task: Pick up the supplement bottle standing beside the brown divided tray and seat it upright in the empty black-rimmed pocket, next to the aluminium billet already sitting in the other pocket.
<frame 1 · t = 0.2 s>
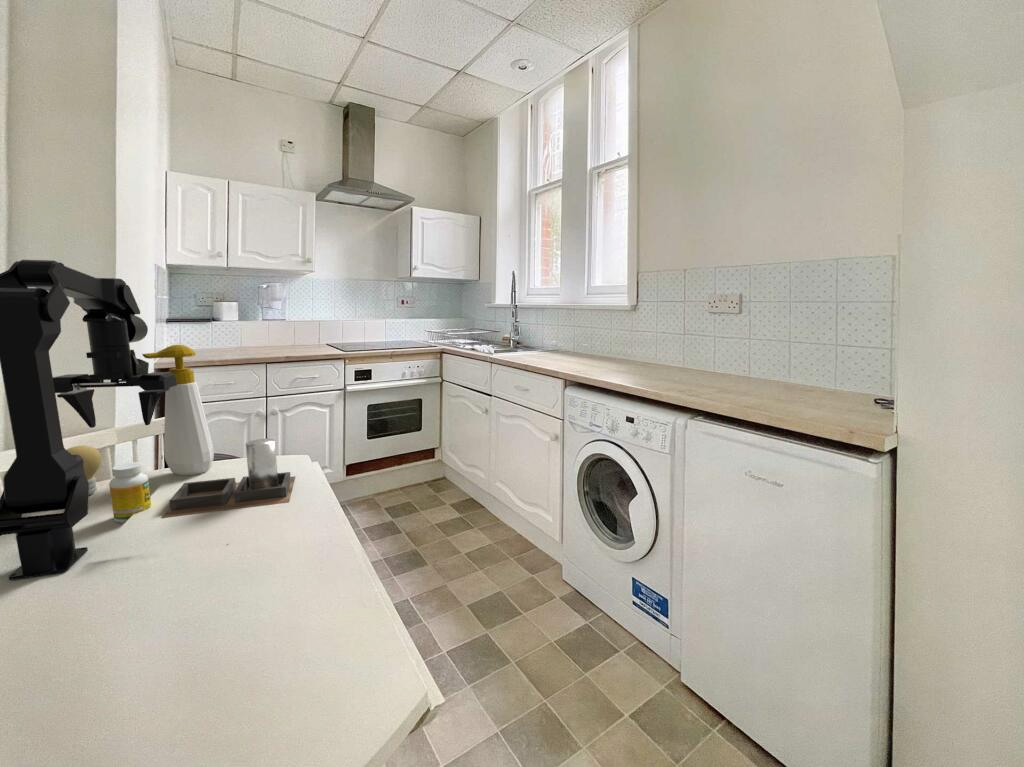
hand: (120, 426, 91), 14 cm above the table, tool pointing down, fingers open, 9 cm apart
brown divided tray: (236, 502, 90), on the table
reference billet: (264, 491, 92), point 1 cm above the table, touching brown divided tray
soap bottle: (186, 477, 104), on the table
supplement bottle: (133, 517, 84), on the table
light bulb: (85, 495, 93), on the table
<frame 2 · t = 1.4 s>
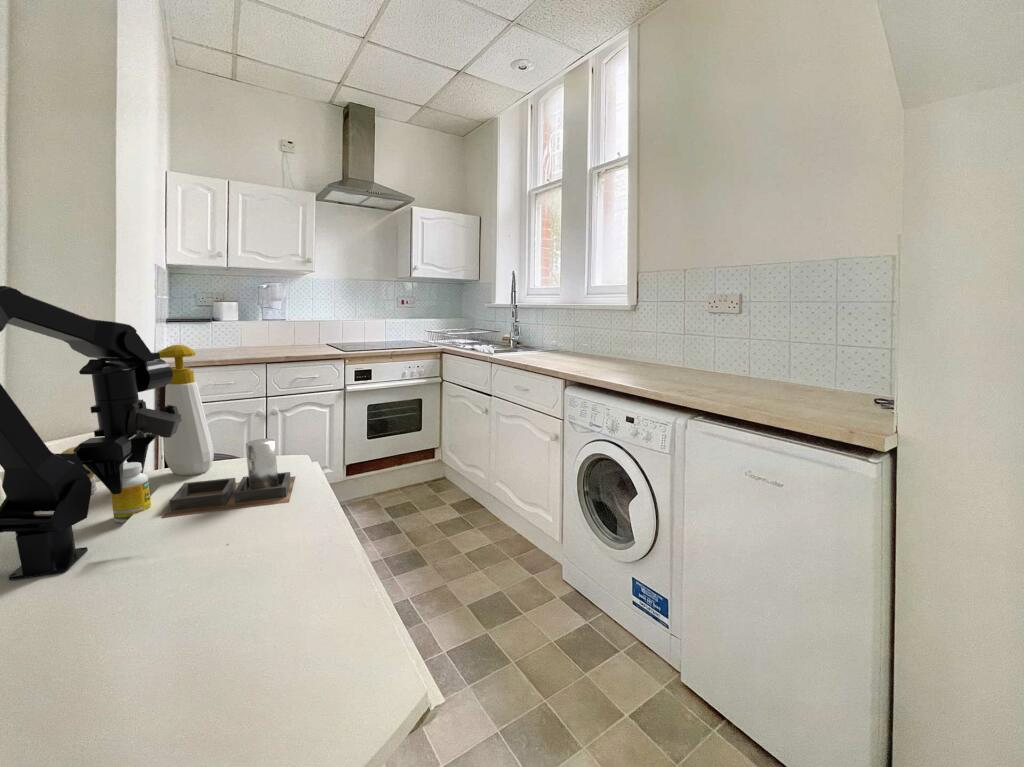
hand: (128, 483, 83), 6 cm above the table, tool pointing down, fingers open, 9 cm apart
nothing on the table moved.
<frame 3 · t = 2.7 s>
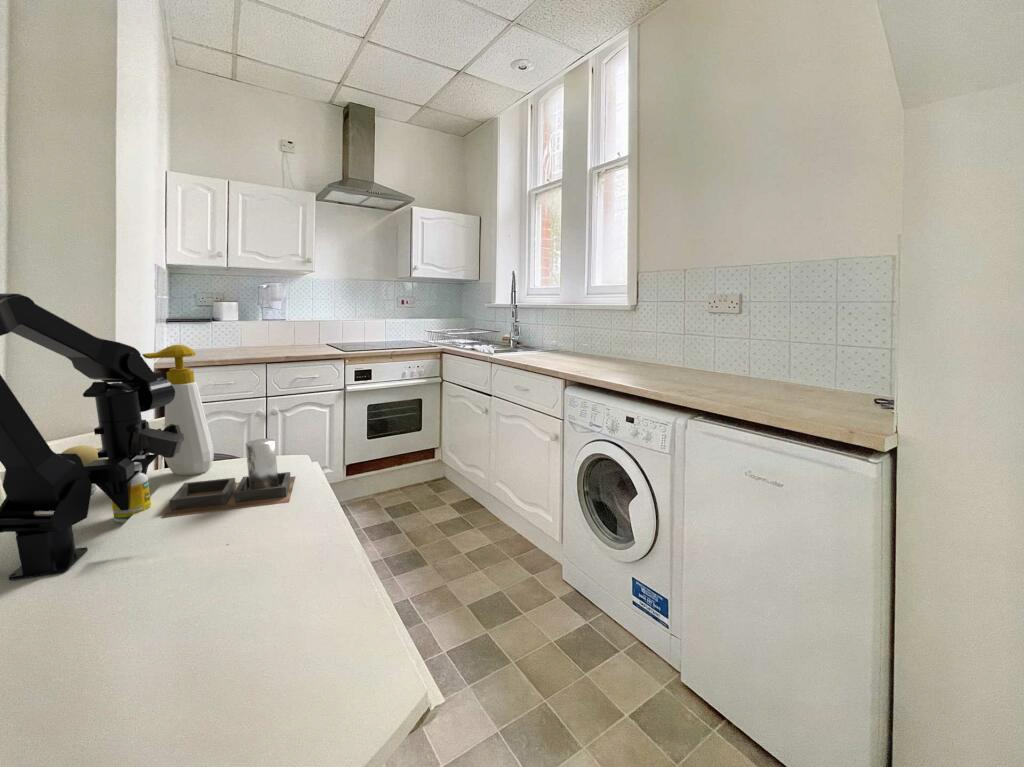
hand: (131, 503, 84), 3 cm above the table, tool pointing down, fingers closed on supplement bottle, 5 cm apart
supplement bottle: (133, 517, 84), on the table, touching gripper
everything else where it was.
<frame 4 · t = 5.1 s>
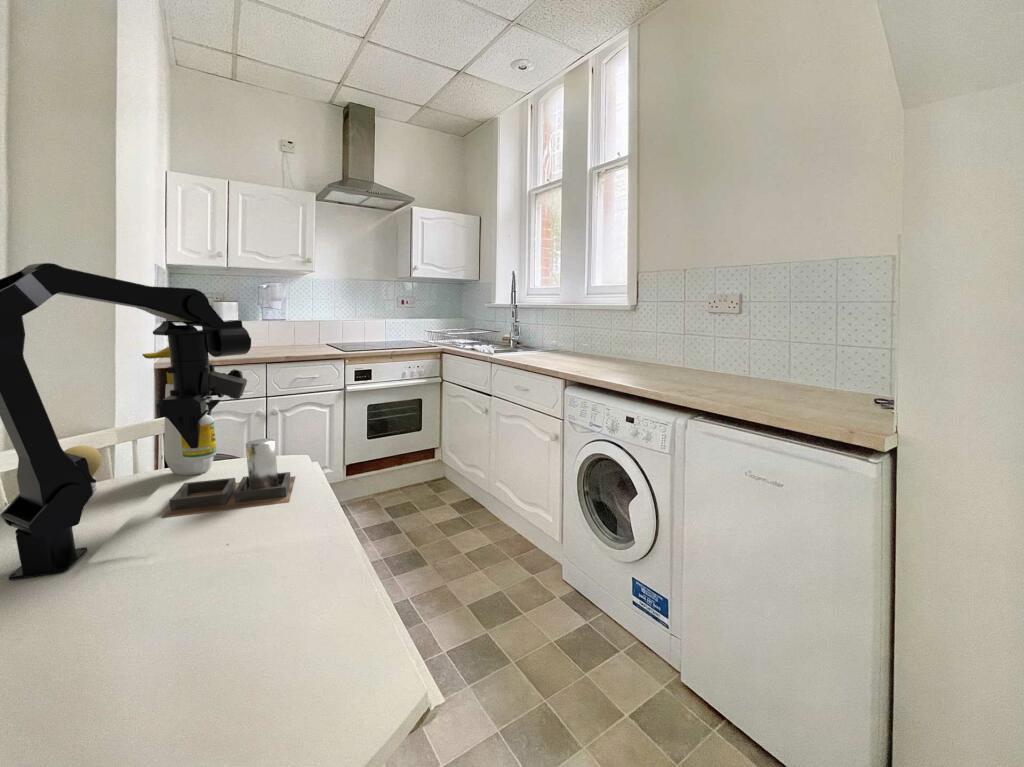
hand: (198, 443, 87), 12 cm above the table, tool pointing down, fingers closed on supplement bottle, 5 cm apart
supplement bottle: (200, 457, 87), point 10 cm above the table, touching gripper
everything else where it was.
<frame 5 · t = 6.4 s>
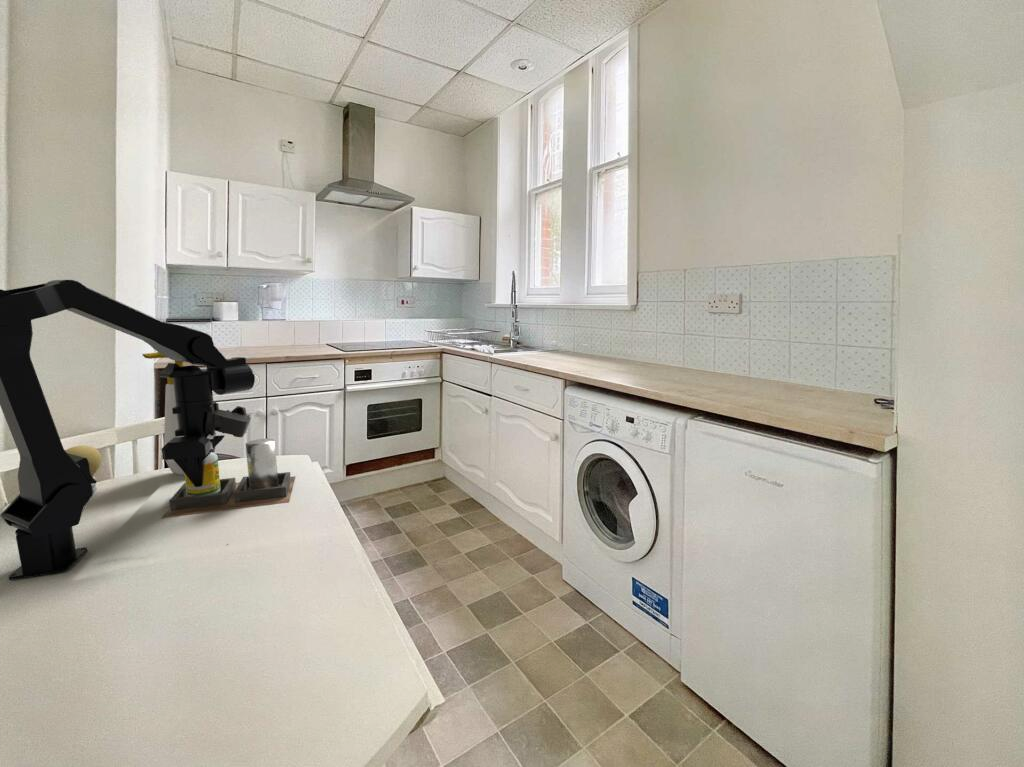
hand: (202, 480, 88), 5 cm above the table, tool pointing down, fingers closed on supplement bottle, 5 cm apart
supplement bottle: (204, 494, 88), point 2 cm above the table, touching gripper
everything else where it was.
when the fingers open (5 cm above the table, at t = 7.5 s): supplement bottle stays where it is, resting on brown divided tray.
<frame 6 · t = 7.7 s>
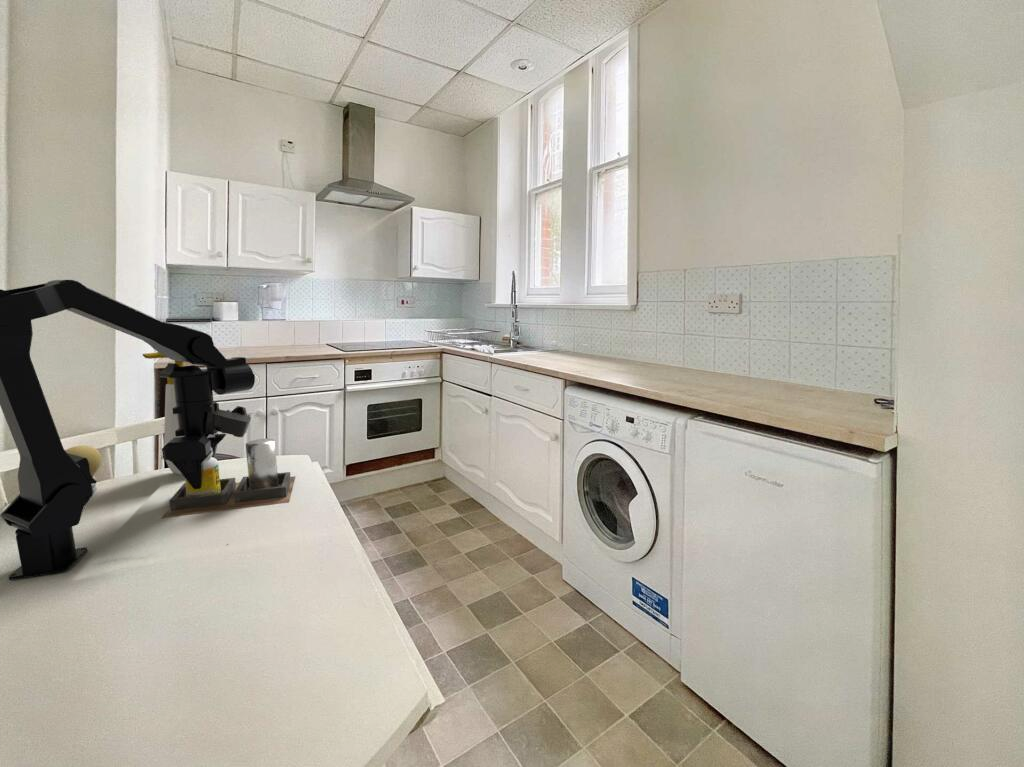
hand: (203, 480, 88), 5 cm above the table, tool pointing down, fingers open, 8 cm apart
supplement bottle: (204, 499, 88), point 1 cm above the table, touching brown divided tray
everything else where it was.
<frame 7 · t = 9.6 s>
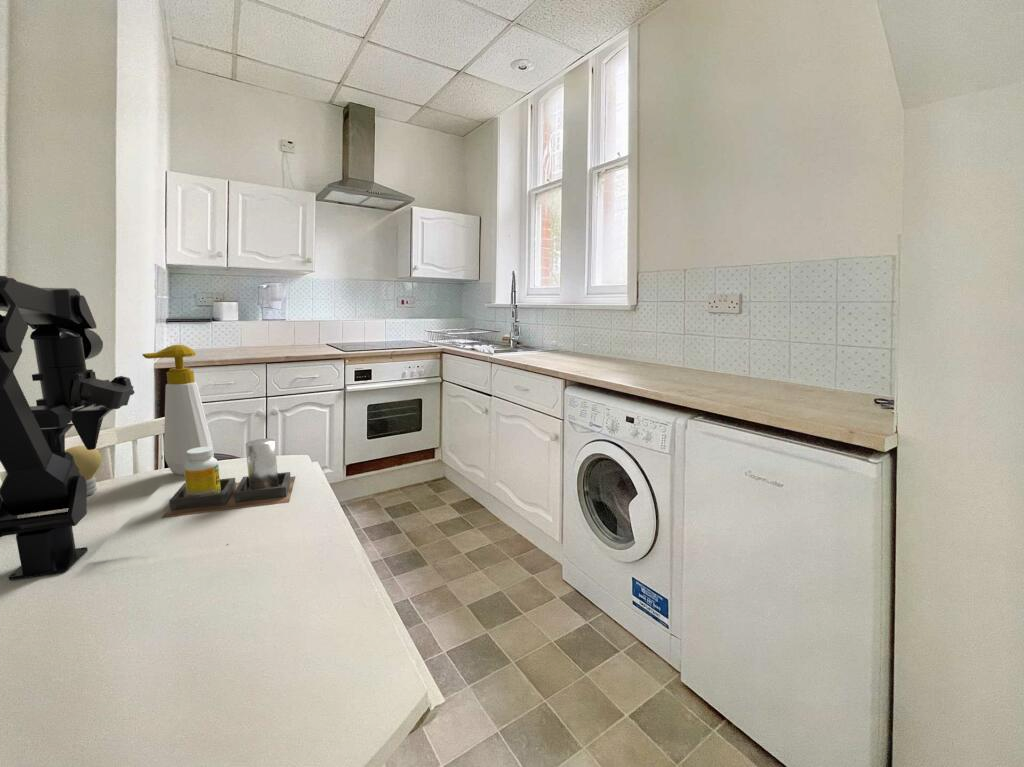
hand: (76, 457, 79), 12 cm above the table, tool pointing down, fingers open, 9 cm apart
nothing on the table moved.
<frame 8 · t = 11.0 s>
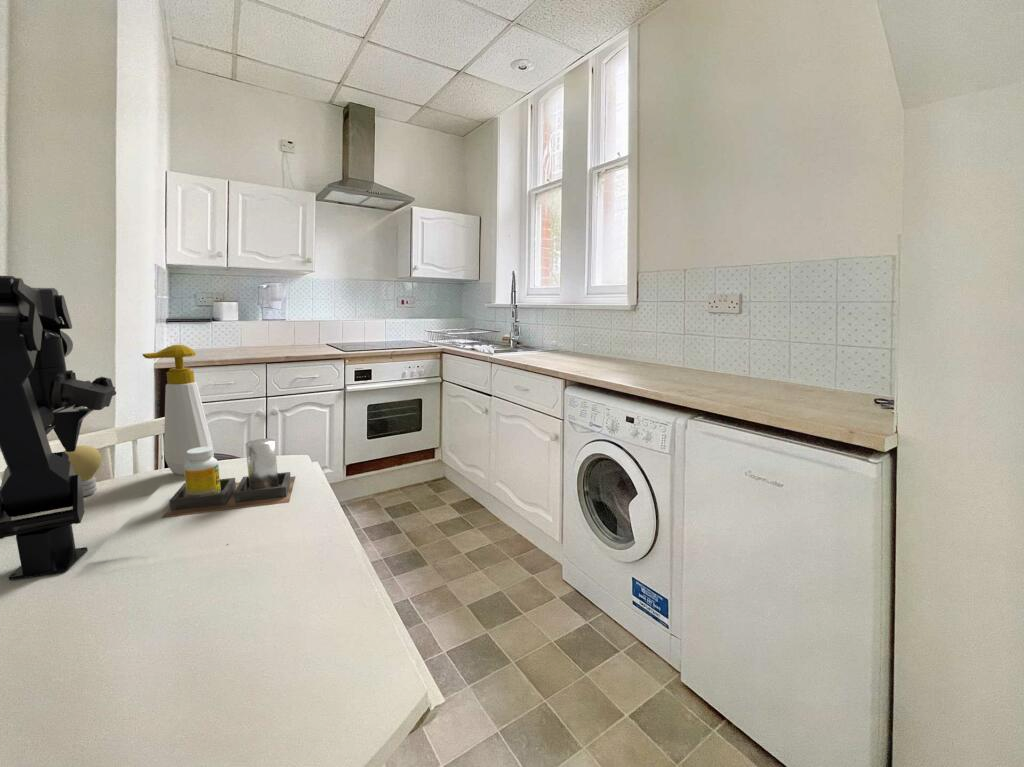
hand: (56, 459, 78), 12 cm above the table, tool pointing down, fingers open, 9 cm apart
nothing on the table moved.
at the end: supplement bottle 0.1 cm from the target spot on the brown divided tray, point 1.3 cm above the brown divided tray's base; supplement bottle tilted 0°; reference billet moved 0.0 cm from its start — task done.
